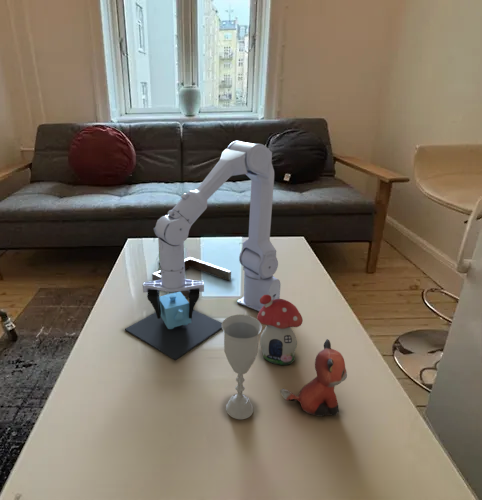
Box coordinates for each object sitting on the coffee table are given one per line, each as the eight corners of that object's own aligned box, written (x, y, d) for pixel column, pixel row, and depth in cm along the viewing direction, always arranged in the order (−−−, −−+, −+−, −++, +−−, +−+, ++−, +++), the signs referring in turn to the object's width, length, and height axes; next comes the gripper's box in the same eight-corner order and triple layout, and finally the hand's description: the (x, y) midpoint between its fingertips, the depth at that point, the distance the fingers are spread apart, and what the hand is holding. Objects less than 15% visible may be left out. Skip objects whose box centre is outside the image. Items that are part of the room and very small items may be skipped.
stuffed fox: (277, 387, 77) (281, 336, 72) (335, 389, 75) (343, 338, 71) (282, 416, 70) (286, 362, 65) (346, 419, 69) (355, 364, 64)
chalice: (257, 426, 68) (261, 340, 61) (218, 421, 69) (218, 336, 62) (258, 396, 74) (262, 316, 68) (223, 392, 76) (224, 313, 69)
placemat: (225, 326, 97) (225, 324, 97) (175, 360, 85) (175, 358, 85) (175, 302, 109) (175, 301, 109) (124, 330, 97) (124, 328, 97)
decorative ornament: (252, 357, 85) (254, 297, 80) (262, 341, 91) (265, 284, 85) (293, 370, 81) (299, 308, 75) (301, 353, 86) (307, 294, 81)
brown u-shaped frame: (231, 279, 121) (231, 270, 120) (193, 300, 110) (193, 291, 109) (190, 264, 133) (190, 256, 132) (152, 282, 121) (151, 273, 120)
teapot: (196, 332, 93) (193, 305, 90) (172, 339, 91) (168, 311, 89) (181, 310, 104) (178, 285, 101) (159, 315, 102) (155, 290, 99)
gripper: (203, 259, 94) (204, 307, 99) (144, 259, 95) (147, 308, 100) (203, 271, 87) (204, 322, 93) (140, 272, 88) (144, 323, 93)
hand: (174, 316), depth 96 cm, fingers closed on teapot, 7 cm apart
